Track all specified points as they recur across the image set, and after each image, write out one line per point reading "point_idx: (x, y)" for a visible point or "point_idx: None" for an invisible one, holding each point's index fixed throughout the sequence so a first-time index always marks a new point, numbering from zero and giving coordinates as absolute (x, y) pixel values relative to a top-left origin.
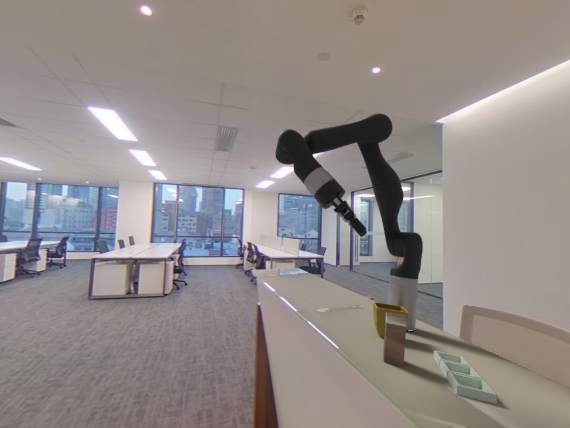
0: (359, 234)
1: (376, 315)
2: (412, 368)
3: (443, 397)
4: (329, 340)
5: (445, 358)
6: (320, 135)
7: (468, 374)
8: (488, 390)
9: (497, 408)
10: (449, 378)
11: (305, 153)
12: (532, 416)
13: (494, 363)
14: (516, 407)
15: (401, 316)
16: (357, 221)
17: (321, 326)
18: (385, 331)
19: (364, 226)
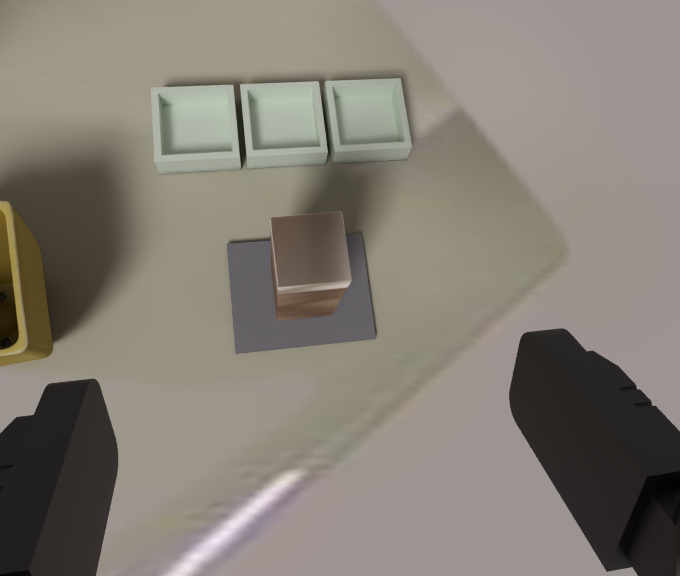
0: (110, 485)
1: (32, 355)
2: None
3: (428, 186)
4: (237, 524)
5: (163, 138)
6: None
7: (250, 103)
8: (375, 87)
9: None
10: (348, 156)
11: None
12: (385, 40)
13: (54, 2)
14: (363, 54)
15: (308, 228)
16: (676, 436)
17: None
18: (314, 299)
19: (579, 345)
